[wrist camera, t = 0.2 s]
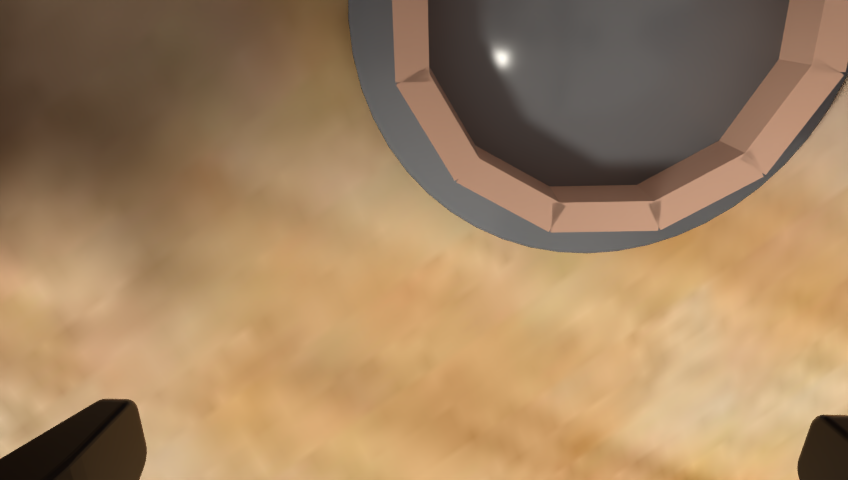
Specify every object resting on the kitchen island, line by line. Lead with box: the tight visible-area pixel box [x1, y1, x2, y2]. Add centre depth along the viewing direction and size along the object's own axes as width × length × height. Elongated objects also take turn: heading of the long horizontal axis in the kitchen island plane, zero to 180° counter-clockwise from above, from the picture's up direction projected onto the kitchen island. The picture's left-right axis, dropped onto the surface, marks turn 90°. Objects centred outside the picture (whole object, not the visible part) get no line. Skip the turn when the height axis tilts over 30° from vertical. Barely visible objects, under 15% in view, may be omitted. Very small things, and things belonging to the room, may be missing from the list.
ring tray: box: [348, 0, 848, 253], centre depth 18 cm, size 16×16×3 cm
